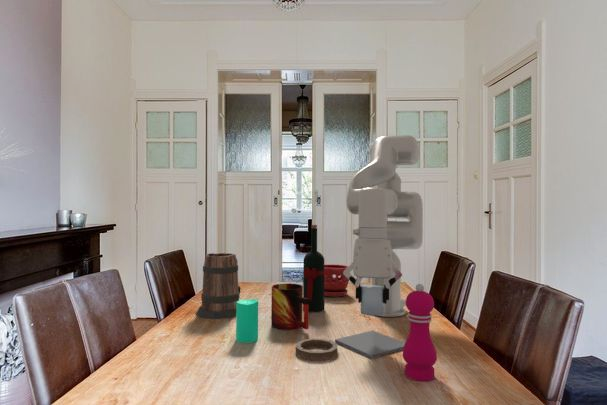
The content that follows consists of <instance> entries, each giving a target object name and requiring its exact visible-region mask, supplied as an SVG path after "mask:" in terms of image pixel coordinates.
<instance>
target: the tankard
mask: <svg viewBox="0 0 607 405" xmlns="http://www.w3.org/2000/svg"><path fill="white" fill-rule="evenodd" d="M236 255H237V254H236V253H228V252H227V253H226V252H221V253H213V252H212V253H206V254H205V257H204V264H203V266H202V277H203V278H202V293H201V295H200V296H201V297H200V298H201V299H200V300H201V305H200V306H199V307H198V309H197V311H195V313H194V315H195V316H196V317H198V318H200V319H206V320H226V319H227V320H228V319H233V318H236V301H239V300H240V294H241V286H240V285H239V265H238V259H237V256H236Z"/></svg>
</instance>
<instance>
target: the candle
mask: <svg viewBox="0 0 607 405" xmlns="http://www.w3.org/2000/svg"><path fill="white" fill-rule="evenodd" d="M248 297H249V296H248V295H246V299H239V301H236V317H235V320H236V321H235V335H236V336H235V340H236V341H237V342H239V343H243V344H244V343H248V344H249V343H254V342H256V341H257V340H258V339H259V300H258V299H257V298H248Z"/></svg>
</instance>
